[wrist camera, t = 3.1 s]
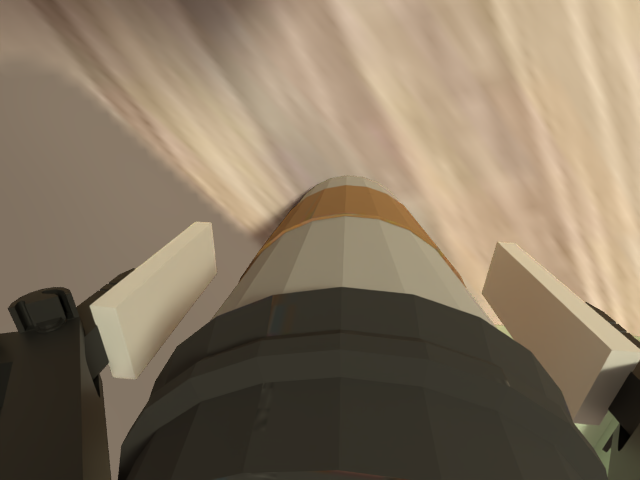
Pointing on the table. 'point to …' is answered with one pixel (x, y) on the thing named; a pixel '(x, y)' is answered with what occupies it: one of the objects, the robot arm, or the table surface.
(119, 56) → the table surface
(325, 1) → the table surface
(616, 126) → the table surface
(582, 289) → the table surface
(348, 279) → the coffee cup
